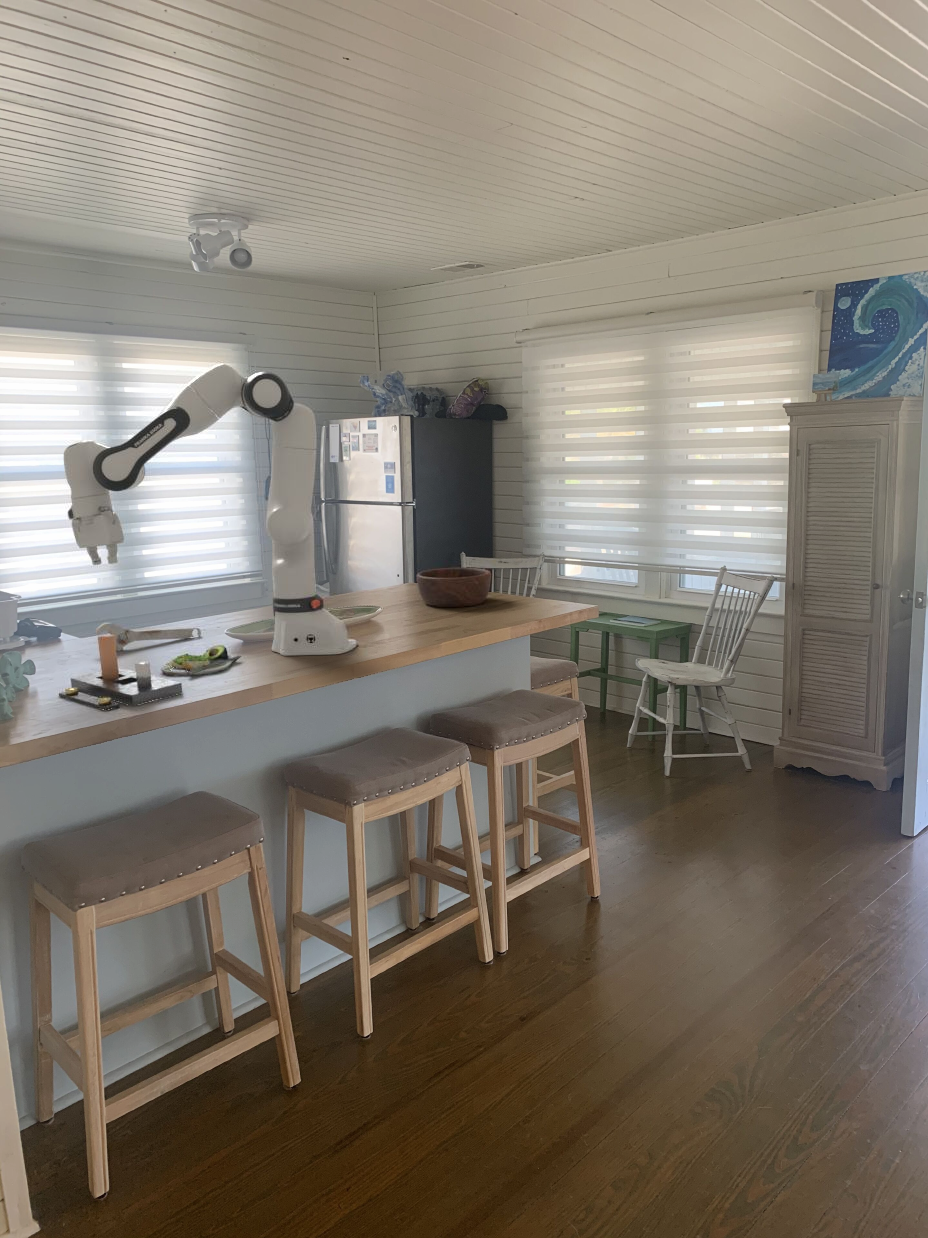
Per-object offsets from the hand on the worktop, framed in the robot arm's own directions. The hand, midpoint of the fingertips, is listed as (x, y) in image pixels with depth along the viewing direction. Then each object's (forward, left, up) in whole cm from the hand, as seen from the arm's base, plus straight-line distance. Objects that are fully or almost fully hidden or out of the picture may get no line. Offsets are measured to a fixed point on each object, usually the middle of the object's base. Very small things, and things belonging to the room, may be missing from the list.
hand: (105, 564), depth 223 cm
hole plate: (-16, +25, -26) cm, 39 cm away
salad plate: (-23, -1, -27) cm, 35 cm away
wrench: (+4, -23, -26) cm, 35 cm away
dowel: (-12, +20, -26) cm, 35 cm away
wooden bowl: (-67, -93, -26) cm, 117 cm away
